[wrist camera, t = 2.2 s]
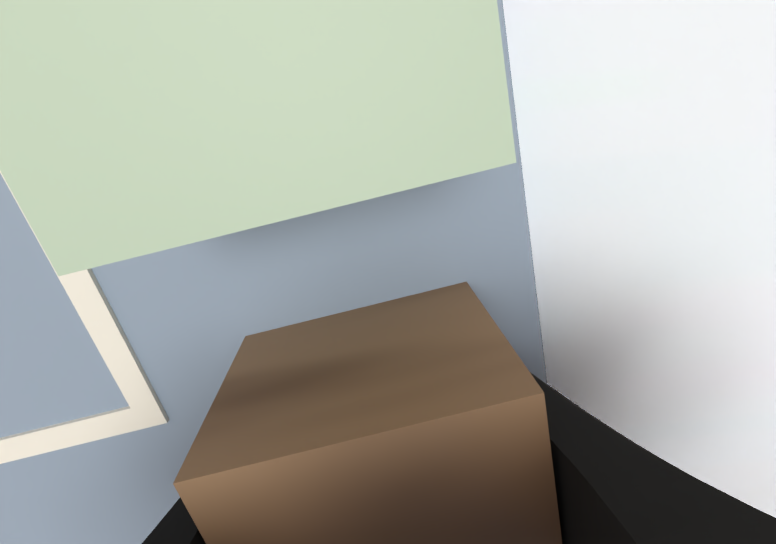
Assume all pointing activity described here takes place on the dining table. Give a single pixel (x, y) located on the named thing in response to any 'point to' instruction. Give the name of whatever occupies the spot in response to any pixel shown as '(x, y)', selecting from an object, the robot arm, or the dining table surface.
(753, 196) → the dining table surface
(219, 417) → the walnut block
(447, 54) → the sage block
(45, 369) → the board
